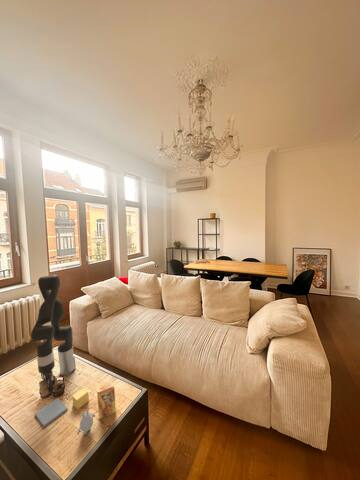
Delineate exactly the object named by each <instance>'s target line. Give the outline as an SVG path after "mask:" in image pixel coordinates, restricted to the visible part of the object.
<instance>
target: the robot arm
mask: <svg viewBox="0 0 360 480" xmlns="http://www.w3.org/2000/svg"><path fill="white" fill-rule="evenodd" d="M37 281H38V282H37V284H38V288H39V291H40V293H41V295H42V298H43V302H42V304H41V305H40V307H39V310H38V315H37V320H36V322H35V324H34V325H33V328H32V330H31V332H30V339H31V340H32V341H33V342H38V341H41V342H40V343H38V344H37V346H36V354H37V355H36V356H37V369H38V372H39V374H40V377H41V379H42V380H44V379H45V380H46V383H47V384H48V390H49V394H51V393H52V392H53V391H55V390H54V389H53V385H55V377H56V375H55V374H54V372H53V369H54V367H55V355H54V349H53V340H55V341H56V342H61V341H62V342H61V343H60V344H58V346H57V354H58V364H59V374H60V375H61V376H67V375H70V374H71V373H73V372H74V370H75V369H76V358H75V355H74V347H73V342H74V341H73V328H72V326H69V325H67V326H61V324H60V322H61V320H62V318H63V317H64V313H65V308H64V305H63V302H62V301H61V300H60V299H59V298H58V297H57V296H58V294H59V289H60V287H61V286H60V285H61V280H60V276H59V275H58V274H53V275H46V276H41V277H39V278H38V280H37ZM48 323H50V324H48ZM46 324H47V325H46ZM53 375H54V376H53ZM48 379H49V380H48ZM47 380H48V381H47Z"/></svg>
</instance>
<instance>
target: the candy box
mask: <svg viewBox="0 0 360 480" xmlns="http://www.w3.org/2000/svg"><path fill="white" fill-rule="evenodd" d="M96 396H97V397H96V398H97V407H98V419H99V420H101V419H103V418H105V417H108V416H110V415H113V414H116V412H117V411H116V409H117V407H116V394H115V386H114V383H110V384H107V385H105V386H101V387H98V388H97V389H96Z"/></svg>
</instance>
